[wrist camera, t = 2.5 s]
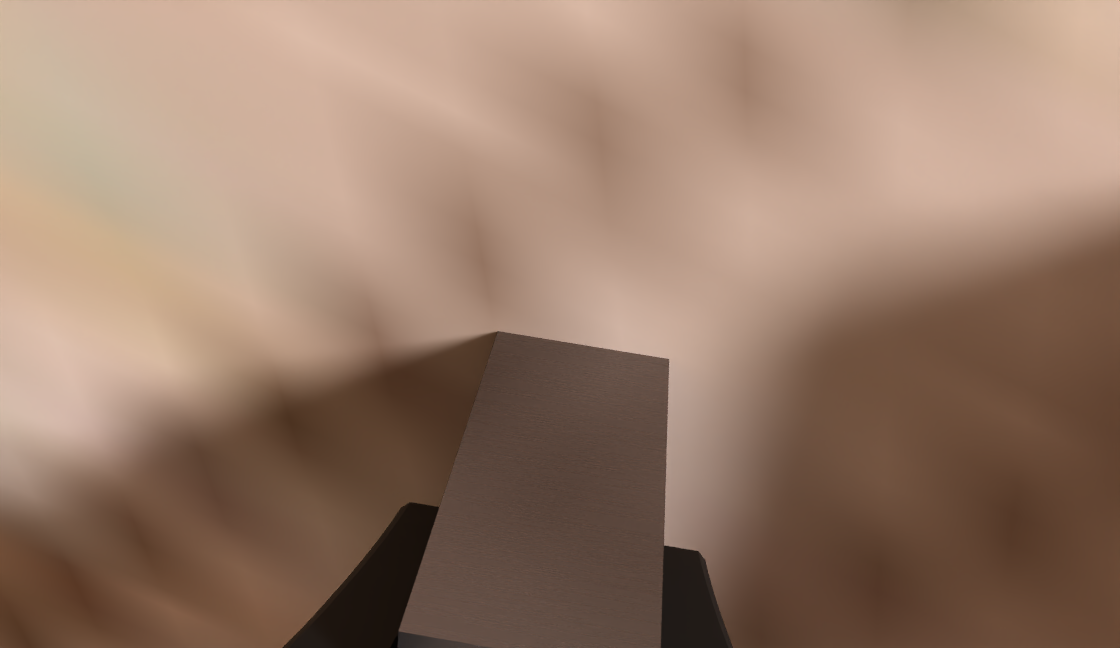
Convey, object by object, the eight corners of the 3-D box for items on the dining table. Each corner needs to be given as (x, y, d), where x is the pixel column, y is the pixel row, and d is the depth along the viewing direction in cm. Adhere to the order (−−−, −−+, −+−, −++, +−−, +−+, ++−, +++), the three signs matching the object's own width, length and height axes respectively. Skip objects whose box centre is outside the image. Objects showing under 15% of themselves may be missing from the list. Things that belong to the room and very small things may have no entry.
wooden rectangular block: (606, 652, 15) (574, 1006, 11) (467, 628, 15) (381, 971, 11) (668, 357, 12) (659, 676, 8) (498, 329, 12) (398, 631, 8)
